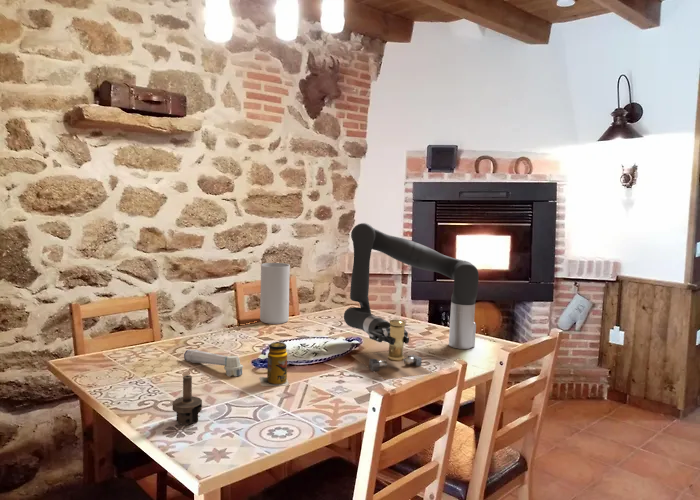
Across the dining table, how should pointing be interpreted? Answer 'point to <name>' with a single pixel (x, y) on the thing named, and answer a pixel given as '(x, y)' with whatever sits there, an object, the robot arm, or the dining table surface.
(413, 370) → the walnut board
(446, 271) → the robot arm
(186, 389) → the industrial component
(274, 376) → the condiment
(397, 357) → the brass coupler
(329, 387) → the dining table surface
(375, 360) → the shaft
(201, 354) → the grey lever handle
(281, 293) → the cylinder vase
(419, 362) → the shaft
